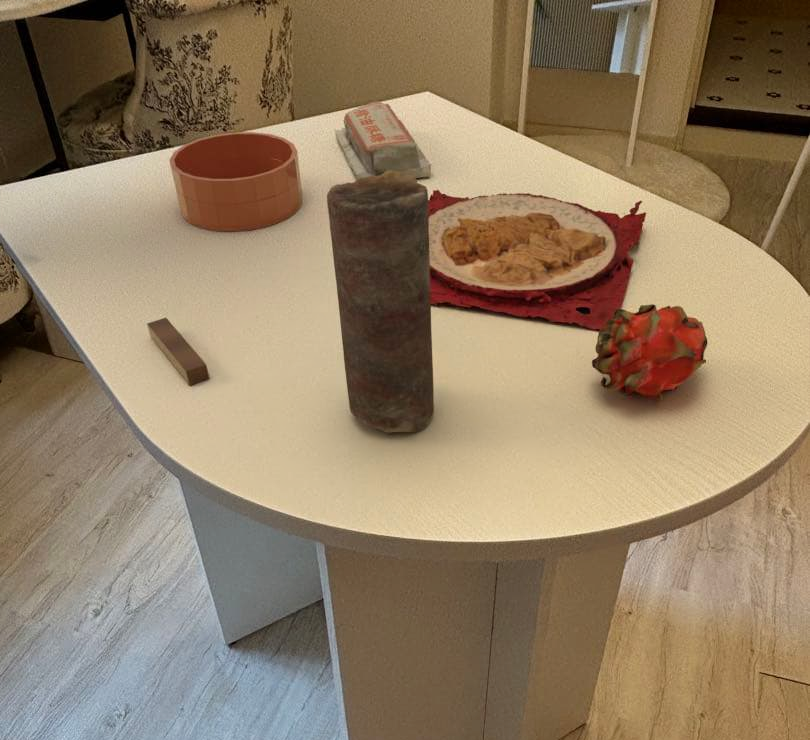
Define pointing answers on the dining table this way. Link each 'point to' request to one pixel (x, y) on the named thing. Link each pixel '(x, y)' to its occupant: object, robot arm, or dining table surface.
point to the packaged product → (380, 143)
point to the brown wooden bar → (178, 351)
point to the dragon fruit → (649, 350)
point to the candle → (384, 298)
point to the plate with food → (530, 256)
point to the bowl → (237, 181)
